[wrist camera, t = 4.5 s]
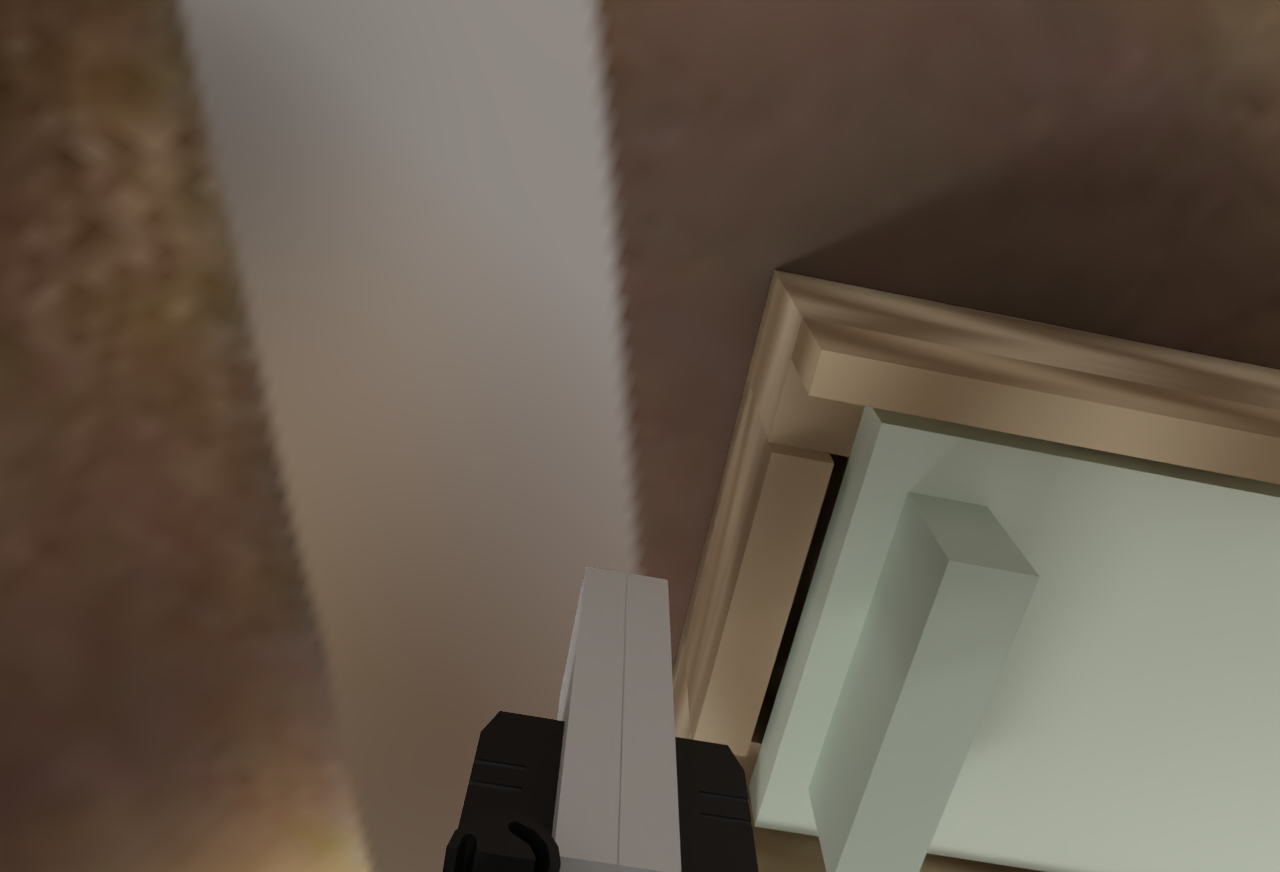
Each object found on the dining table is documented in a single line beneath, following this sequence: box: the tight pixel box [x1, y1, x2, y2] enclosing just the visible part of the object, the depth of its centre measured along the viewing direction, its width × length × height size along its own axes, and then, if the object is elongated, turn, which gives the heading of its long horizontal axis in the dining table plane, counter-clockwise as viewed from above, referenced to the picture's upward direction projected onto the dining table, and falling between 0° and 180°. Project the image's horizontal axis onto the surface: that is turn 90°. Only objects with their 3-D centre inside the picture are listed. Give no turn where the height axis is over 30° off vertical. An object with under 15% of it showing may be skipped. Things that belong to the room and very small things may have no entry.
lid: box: [749, 406, 1280, 872], centre depth 18 cm, size 14×9×4 cm
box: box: [672, 270, 1280, 872], centre depth 21 cm, size 16×12×6 cm
